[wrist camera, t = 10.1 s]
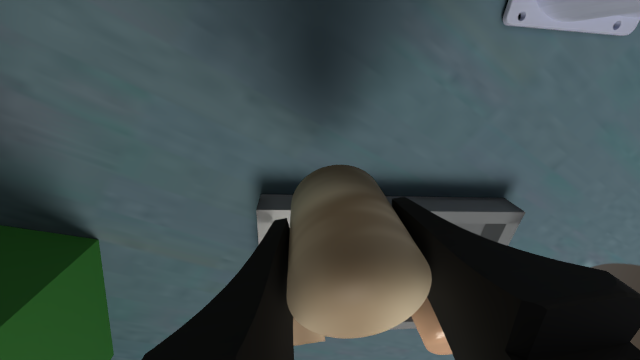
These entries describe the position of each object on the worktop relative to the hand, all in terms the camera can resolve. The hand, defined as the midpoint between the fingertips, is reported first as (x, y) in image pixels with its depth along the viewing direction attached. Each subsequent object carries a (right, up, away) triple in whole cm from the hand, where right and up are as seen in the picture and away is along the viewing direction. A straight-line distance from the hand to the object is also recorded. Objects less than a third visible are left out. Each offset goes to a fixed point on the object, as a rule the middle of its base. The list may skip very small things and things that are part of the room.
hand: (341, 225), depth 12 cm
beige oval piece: (0, +1, +1) cm, 2 cm away
